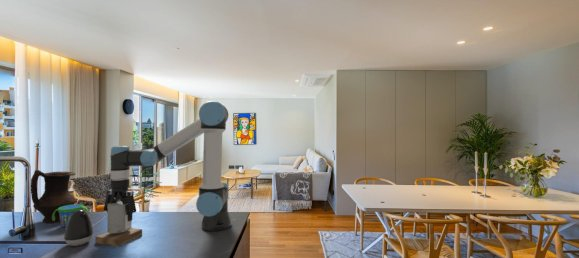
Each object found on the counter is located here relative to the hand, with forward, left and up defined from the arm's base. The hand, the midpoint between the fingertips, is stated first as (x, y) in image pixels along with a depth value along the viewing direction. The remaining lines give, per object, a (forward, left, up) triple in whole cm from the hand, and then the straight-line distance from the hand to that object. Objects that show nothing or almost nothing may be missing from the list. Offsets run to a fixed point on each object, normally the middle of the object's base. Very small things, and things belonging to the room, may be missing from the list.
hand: (119, 226), depth 124 cm
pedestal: (0, 0, -6) cm, 6 cm away
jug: (+60, -10, -6) cm, 61 cm away
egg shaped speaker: (+13, +9, -6) cm, 17 cm away
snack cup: (+42, -7, -6) cm, 43 cm away
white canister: (0, 0, -1) cm, 1 cm away
